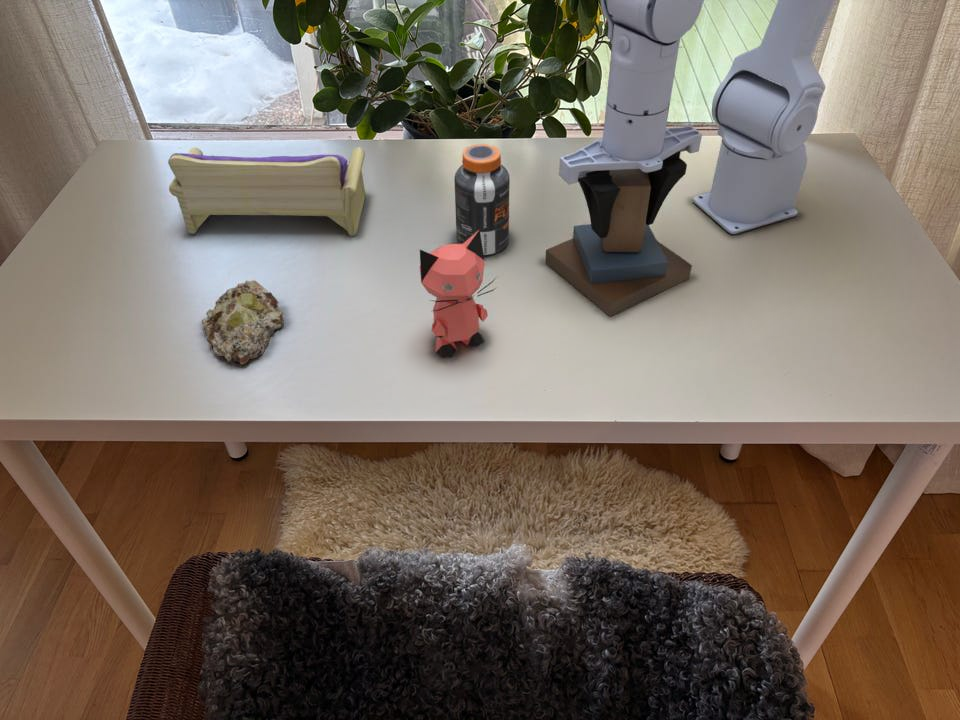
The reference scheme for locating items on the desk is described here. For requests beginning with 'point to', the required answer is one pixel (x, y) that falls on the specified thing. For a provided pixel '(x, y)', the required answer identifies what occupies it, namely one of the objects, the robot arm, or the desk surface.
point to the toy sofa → (269, 186)
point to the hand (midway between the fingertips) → (621, 226)
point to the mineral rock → (242, 322)
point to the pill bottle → (482, 198)
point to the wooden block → (628, 211)
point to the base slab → (618, 292)
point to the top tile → (618, 258)
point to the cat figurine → (455, 292)
